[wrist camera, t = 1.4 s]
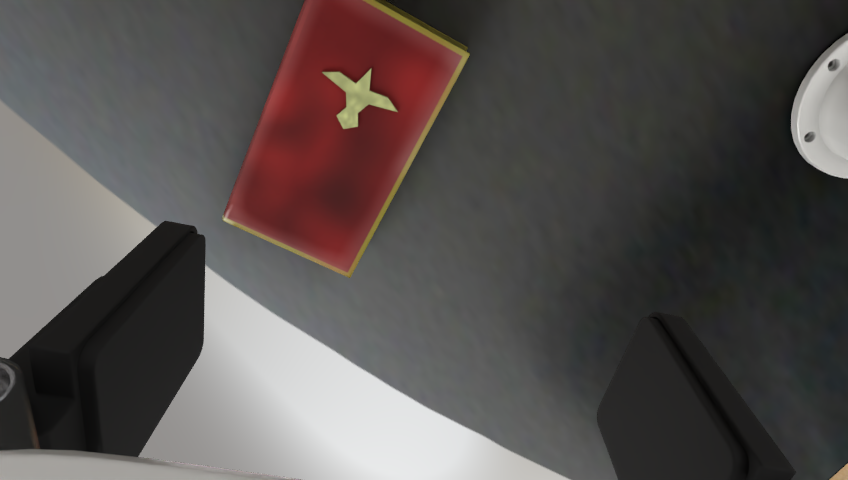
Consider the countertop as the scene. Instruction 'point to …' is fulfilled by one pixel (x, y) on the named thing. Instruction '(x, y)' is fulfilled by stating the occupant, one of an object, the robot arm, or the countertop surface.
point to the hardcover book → (342, 127)
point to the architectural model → (841, 474)
